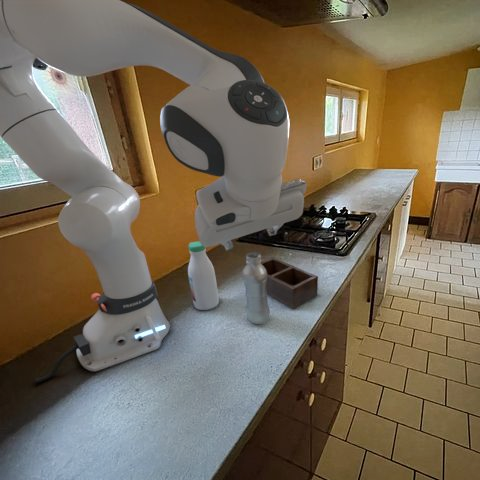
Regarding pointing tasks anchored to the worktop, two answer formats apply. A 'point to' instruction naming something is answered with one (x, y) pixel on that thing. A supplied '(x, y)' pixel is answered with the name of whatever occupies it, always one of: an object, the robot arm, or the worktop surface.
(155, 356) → the worktop surface
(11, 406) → the worktop surface
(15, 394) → the worktop surface
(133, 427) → the worktop surface
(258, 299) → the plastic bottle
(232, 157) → the robot arm
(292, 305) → the bottle rack
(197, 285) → the milk bottle
